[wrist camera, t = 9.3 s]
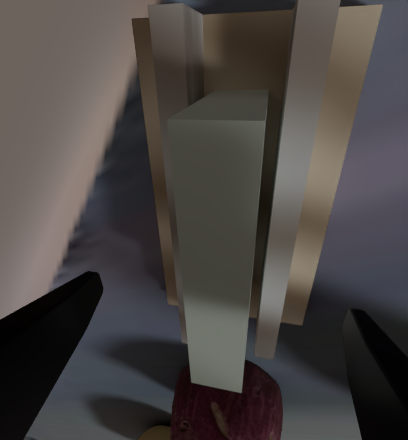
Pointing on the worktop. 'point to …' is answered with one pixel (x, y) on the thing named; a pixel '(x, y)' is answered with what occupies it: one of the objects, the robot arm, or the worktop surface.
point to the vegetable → (227, 409)
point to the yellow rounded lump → (156, 433)
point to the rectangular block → (218, 225)
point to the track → (274, 132)
